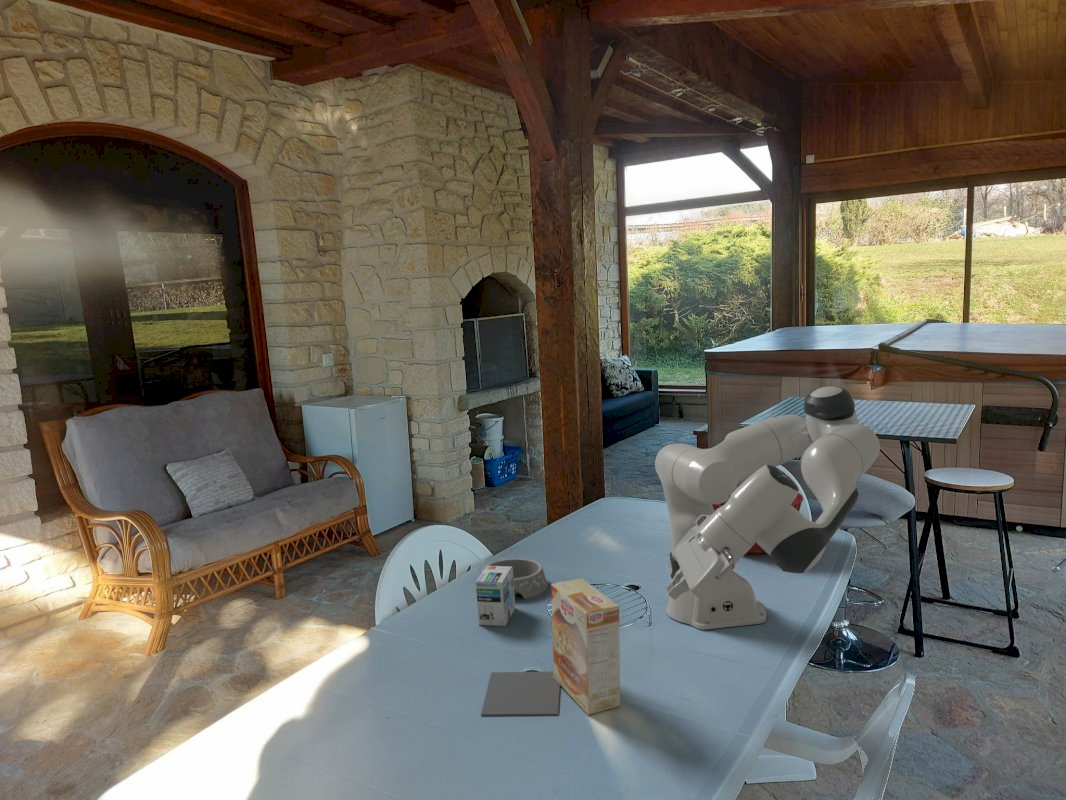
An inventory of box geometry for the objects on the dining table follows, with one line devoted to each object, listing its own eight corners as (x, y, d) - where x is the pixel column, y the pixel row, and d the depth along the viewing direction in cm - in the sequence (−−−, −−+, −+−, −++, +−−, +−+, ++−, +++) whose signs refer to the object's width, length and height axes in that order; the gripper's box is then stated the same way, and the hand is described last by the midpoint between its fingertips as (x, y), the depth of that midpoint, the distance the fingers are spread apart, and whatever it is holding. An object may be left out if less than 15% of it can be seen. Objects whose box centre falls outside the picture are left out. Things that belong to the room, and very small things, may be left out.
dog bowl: (481, 576, 202) (480, 558, 201) (548, 574, 201) (547, 555, 201) (474, 602, 185) (473, 582, 184) (547, 599, 184) (546, 579, 184)
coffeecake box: (552, 677, 145) (549, 583, 143) (584, 669, 148) (582, 576, 145) (587, 716, 132) (585, 612, 129) (621, 706, 134) (620, 605, 132)
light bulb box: (505, 627, 170) (503, 582, 168) (477, 626, 171) (474, 581, 170) (516, 607, 180) (513, 565, 179) (489, 606, 181) (486, 564, 180)
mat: (560, 672, 148) (560, 671, 148) (557, 715, 133) (557, 713, 133) (491, 673, 149) (491, 672, 149) (481, 715, 134) (480, 714, 134)
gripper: (750, 572, 122) (692, 631, 124) (723, 533, 143) (674, 583, 144) (722, 548, 122) (665, 607, 124) (699, 512, 142) (650, 563, 144)
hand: (669, 594), depth 134 cm, fingers closed
